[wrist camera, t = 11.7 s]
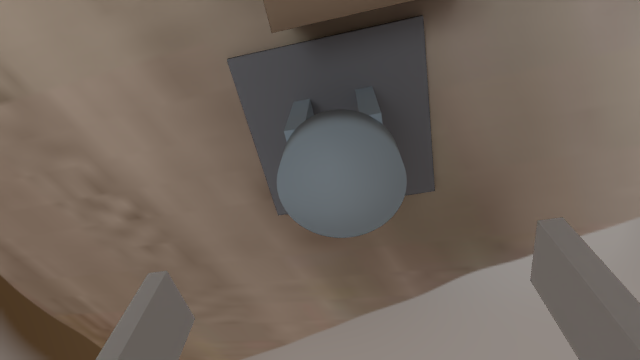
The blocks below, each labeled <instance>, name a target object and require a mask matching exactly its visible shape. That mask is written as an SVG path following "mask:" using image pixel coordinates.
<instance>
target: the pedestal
mask: <svg viewBox="0 0 640 360" xmlns="http://www.w3.org/2000/svg"><path fill="white" fill-rule="evenodd" d="M263 1H264V5H265V9H266V13H267V16H268V20H269V24H270V28H271V32H272V33H274V32H279V31H283V30H287V29H292V28H296V27H300V26H305V25H309V24H313V23H318V22H322V21H326V20H331V19H335V18H339V17H344V16H348V15H353V14H357V13H361V12H366V11H370V10H374V9H379V8H383V7H387V6H392V5H396V4H400V3H405V2H409V1H413V0H263Z"/></svg>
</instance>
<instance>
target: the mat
mask: <svg viewBox="0 0 640 360" xmlns="http://www.w3.org/2000/svg"><path fill="white" fill-rule="evenodd" d="M227 62H228V65H229V68H230V71H231V74H232V77H233V80H234V83H235V86H236V89H237V92H238V95H239V98H240V101H241V104H242V107H243V110H244V113H245V116H246V119H247V122H248V125H249V128H250V131H251V134H252V137H253V141H254V144H255V147H256V150H257V153H258V156H259V159H260V162H261V165H262V168H263V171H264V174H265V177H266V180H267V183H268V186H269V189H270V192H271V195H272V198H273V201H274V204H275V207H276V210H277V213H278V215H284V214H288V213H287V212H286V210H285V209H284V207H283V205H282V203H281V201H280V198H279V195H278V191H277V174H278V169H279V166H280V162H281V159H282V155H283V152H284V149H285V146H286V143H287V141H286V137H285V134H284V129H285V126H286V123H287V120H288V117H289V114H290V111H291V108H292V105H293V102H296V101H301V100H306V99H310V100H311V105H312V109H313V113H314V115H316V114H319V113H321V112H325V111H329V110H336V109H347V110H354V111H358V112H359V110H358V104H357V98H356V92H355V90H356V89H361V88H366V87H371V86H372V87H373V90H374V93H375V96H376V99H377V102H378V105H379V108H380V111H381V115H382V122H383V125H384V126H385V127H386V128H387V129H388V131H389V132H390V133H391V135H392V136H393V138H394V140H395V142H396V145H397V147H398V150H399V153H400V156H401V158H402V161H403V164H404V167H405V170H406V176H407V186H406V192H405V195H412V194H418V193H424V192H431V191H435V186H434V171H433V156H432V141H431V126H430V111H429V96H428V81H427V66H426V51H425V36H424V21H423V16H422V15H421V16H417V17H412V18H408V19H403V20H399V21H394V22H390V23H385V24H381V25H376V26H372V27H367V28H363V29H359V30H354V31H350V32H345V33H341V34H336V35H332V36H327V37H323V38H318V39H314V40H309V41H305V42H300V43H296V44H291V45H287V46H282V47H278V48H274V49H269V50H265V51H260V52H256V53H251V54H247V55H242V56H238V57H233V58H229V59H227Z"/></svg>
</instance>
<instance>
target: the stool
mask: <svg viewBox="0 0 640 360" xmlns="http://www.w3.org/2000/svg"><path fill="white" fill-rule="evenodd" d="M355 92H356V98H357V104H358V110H359V112H358V111H354V110H347V109H336V110H329V111H325V112H321V113H319V114H316V115H314V113H313V109H312V105H311V100H310V99H306V100H301V101H296V102H293V105H292V108H291V111H290V114H289V117H288V120H287V123H286V126H285V129H284V134H285V137H286V141H287V143H286V146H285V149H284V152H283V155H282V159H281V162H280V166H279V169H278V174H277V191H278V195H279V198H280V201H281V203H282V205H283V207H284V209H285V210H286V212H287V213H288V214H289V215H290V217H291V218H292V219H293V220H294V221H296V222H297V223H298V224H299V225H301V226H302V227H304V228H306V229H307V230H309V231H312V232H314V233H317V234H320V235H323V236H328V237H335V238H347V237H355V236H360V235H363V234H366V233H369V232H371V231H373V230H375V229H377V228H379V227H381V226H382V225H383V224H385V223H386V222H387V221H388V220H389V219H390V218H392V217H393V215H394V214H395V213H396V212H397V210H398V209H399V207H400V205H401V203H402V201H403V199H404V196H405V192H406V186H407V176H406V170H405V167H404V164H403V161H402V158H401V156H400V153H399V150H398V147H397V145H396V142H395V140H394V138H393V136H392V135H391V133H390V132H389V131H388V129H387V128H386V127H385V126H384V125H383V122H382V115H381V111H380V108H379V105H378V102H377V99H376V96H375V93H374V90H373V87H372V86H371V87H366V88H361V89H356V90H355Z"/></svg>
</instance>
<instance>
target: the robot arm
mask: <svg viewBox="0 0 640 360" xmlns="http://www.w3.org/2000/svg"><path fill="white" fill-rule="evenodd" d="M531 282H532V284H533V285H534V287H535V289H536V290H537V292H538V293H539V295H540V297H541V298H542V300H543V302H544V303H545V305H546V306H547V308H548V310H549V311H550V313H551V314H552V316H553V318H554V320H555V321H556V323H557V325H558V326H559V328H560V329H561V331H562V332H563V334H564V336H565V338H566V339H567V341H568V342H569V344H570V346H571V347H572V349H573V351H574V352H575V354H576V355H577V357H578V359H579V360H640V303H639V302H638V301H637V299H636V298H635V297H634V296H633V295H632V294H631V293H630V292H629V291H628V290H627V288H626V287H625V286H624V285H623V284H622V283H621V282H620V281H619V279H618V278H617V277H616V276H615V275H614V274H613V273H612V272H611V270H610V269H609V268H608V267H607V266H606V265H605V264H604V263H603V262H602V260H600V258H599V257H598V256H597V255H596V254H595V253H594V252H593V250H592V249H591V248H590V247H589V246H588V245H587V244H586V243H585V242H584V240H583V239H582V238H581V237H580V236H579V235H578V234H577V233H576V231H575V230H574V229H573V228H572V227H571V226H570V225H569V224H568V223H567V221H566V220H565V219H564V218H563V217H561V218H554V219H546V220H539V221H537V228H536V237H535V245H534V254H533V262H532V271H531ZM194 320H195V317H194V316H193V314H192V312H191V311H190V309H189V307H188V306H187V304H186V302H185V300H184V299H183V297H182V295H181V294H180V292H179V290H178V289H177V287H176V285H175V284H174V282H173V280H172V279H171V277H170V275H169V273H168V272H167V271H162V272H155V273H148V275H147V277H146V278H145V280H144V281H143V283H142V285H141V286H140V288H139V290H138V291H137V293H136V295H135V296H134V298H133V299H132V301H131V303H130V304H129V306H128V308H127V309H126V311H125V312H124V314H123V316H122V317H121V319H120V321H119V322H118V324H117V326H116V327H115V329H114V330H113V332H112V334H111V335H110V337H109V339H108V340H107V342H106V343H105V345H104V347H103V348H102V350H101V352H100V353H99V355H98V357H97V358H96V360H179V357H180V355H181V352H182V350H183V347H184V345H185V342H186V340H187V337H188V335H189V332H190V330H191V327H192V325H193V322H194Z"/></svg>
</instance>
